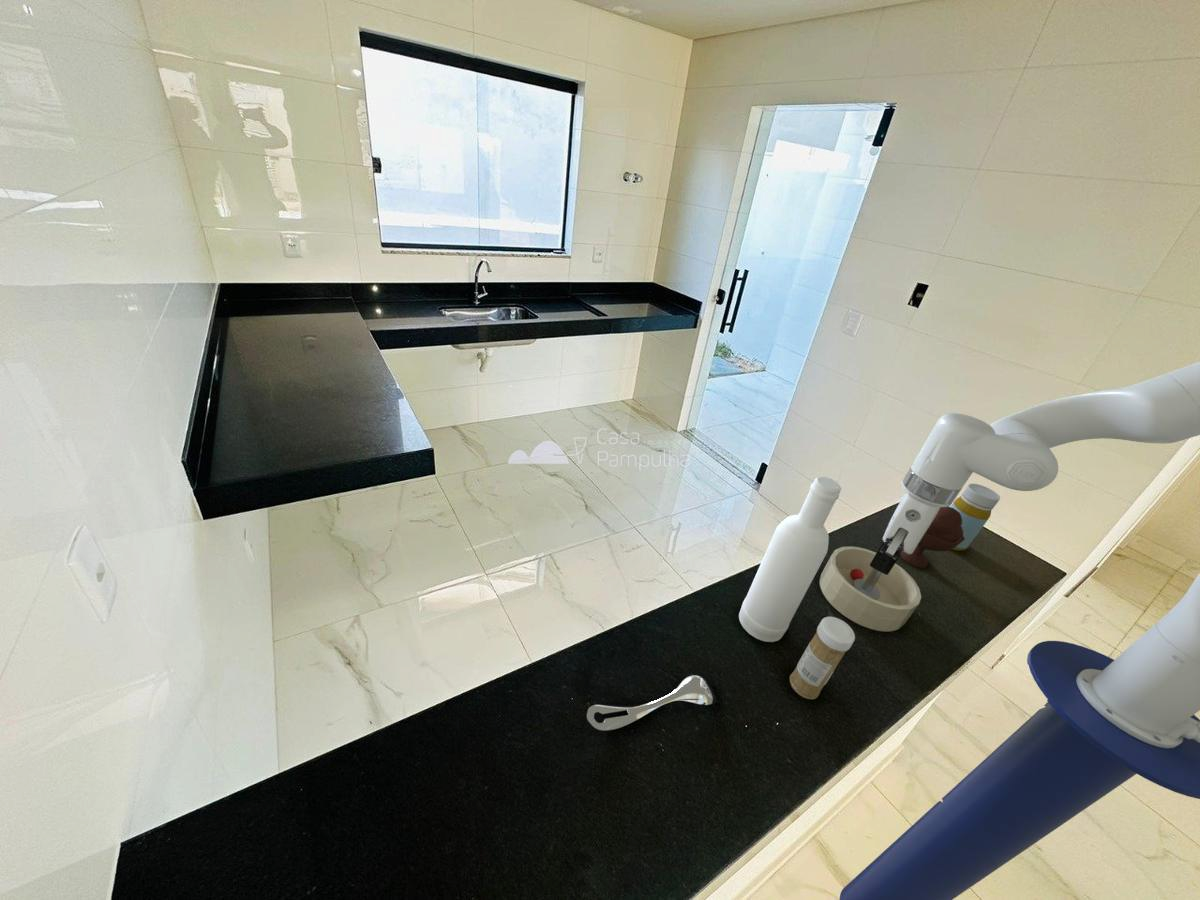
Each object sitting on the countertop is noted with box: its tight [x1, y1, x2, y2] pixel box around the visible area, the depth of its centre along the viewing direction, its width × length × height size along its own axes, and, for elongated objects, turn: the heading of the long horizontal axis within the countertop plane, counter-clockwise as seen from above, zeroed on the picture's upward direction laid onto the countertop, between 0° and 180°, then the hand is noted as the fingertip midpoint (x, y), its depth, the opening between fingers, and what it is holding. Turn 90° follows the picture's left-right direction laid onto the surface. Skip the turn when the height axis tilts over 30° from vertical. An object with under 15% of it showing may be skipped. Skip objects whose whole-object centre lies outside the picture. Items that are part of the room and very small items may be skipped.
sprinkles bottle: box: [789, 616, 856, 700], centre depth 67 cm, size 5×5×14 cm
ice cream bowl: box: [899, 506, 965, 568], centre depth 99 cm, size 11×11×15 cm
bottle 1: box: [738, 476, 842, 643], centre depth 73 cm, size 8×8×30 cm
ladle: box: [852, 543, 890, 600], centre depth 86 cm, size 5×5×13 cm
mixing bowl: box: [819, 546, 922, 632], centre depth 88 cm, size 16×16×6 cm
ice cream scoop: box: [585, 673, 717, 732], centre depth 64 cm, size 20×4×5 cm
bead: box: [850, 569, 864, 580], centre depth 92 cm, size 2×2×2 cm
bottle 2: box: [950, 483, 1001, 552], centre depth 106 cm, size 7×7×15 cm
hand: (880, 566), depth 85 cm, fingers closed on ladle
